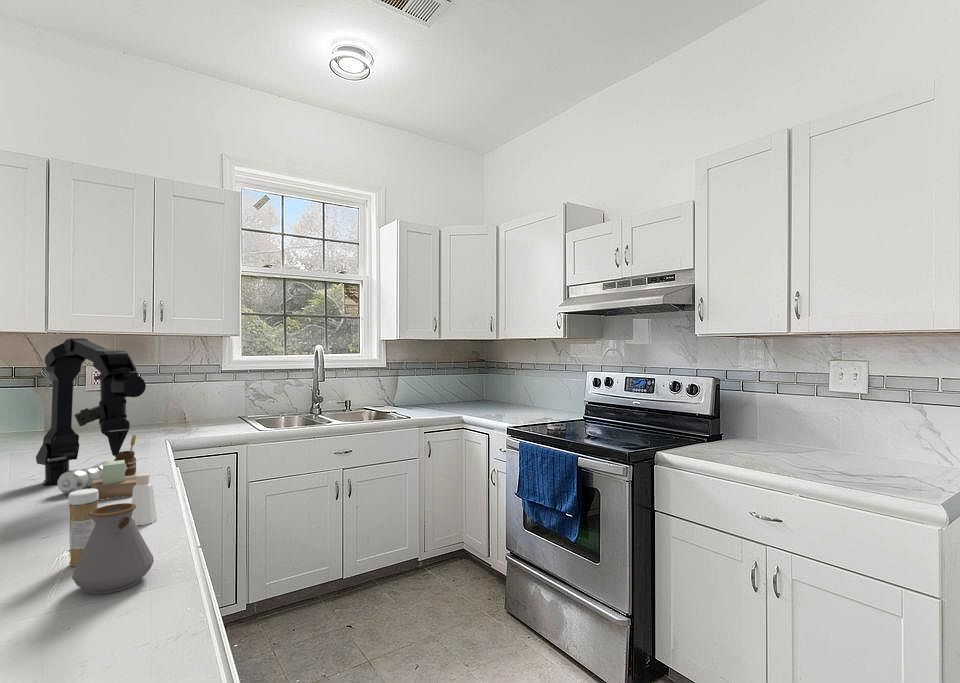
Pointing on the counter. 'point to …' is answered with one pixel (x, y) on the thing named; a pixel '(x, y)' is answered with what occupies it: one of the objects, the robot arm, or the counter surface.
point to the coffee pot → (113, 552)
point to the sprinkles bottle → (81, 520)
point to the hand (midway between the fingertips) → (114, 452)
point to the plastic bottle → (80, 478)
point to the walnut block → (115, 488)
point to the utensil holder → (128, 458)
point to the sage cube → (113, 471)
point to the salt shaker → (143, 501)
